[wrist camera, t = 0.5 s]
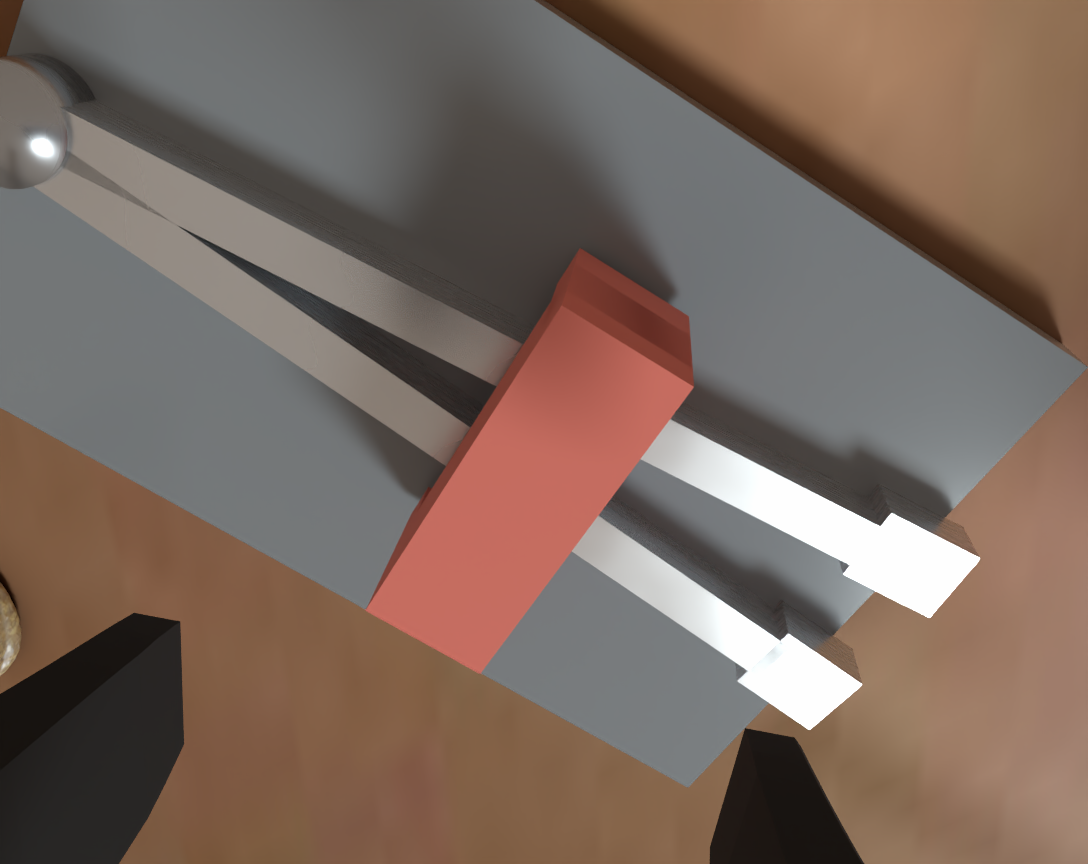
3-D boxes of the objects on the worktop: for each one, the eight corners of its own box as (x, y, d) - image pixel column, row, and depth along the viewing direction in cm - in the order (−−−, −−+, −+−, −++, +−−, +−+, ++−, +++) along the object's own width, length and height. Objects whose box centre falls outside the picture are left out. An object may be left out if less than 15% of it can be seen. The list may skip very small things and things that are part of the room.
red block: (689, 316, 18) (693, 387, 15) (507, 569, 21) (480, 673, 18) (580, 248, 18) (561, 305, 15) (411, 514, 21) (365, 610, 18)
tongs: (967, 529, 20) (988, 567, 19) (807, 695, 22) (815, 738, 21) (33, -52, 17) (-17, -54, 16) (-45, 202, 19) (-95, 218, 18)
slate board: (1064, 345, 19) (1088, 367, 18) (686, 752, 25) (688, 787, 23) (147, -263, 17) (110, -281, 16) (-51, 340, 22) (-88, 358, 21)
